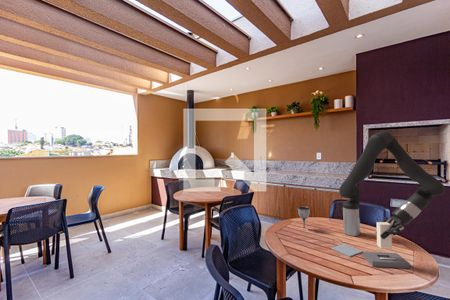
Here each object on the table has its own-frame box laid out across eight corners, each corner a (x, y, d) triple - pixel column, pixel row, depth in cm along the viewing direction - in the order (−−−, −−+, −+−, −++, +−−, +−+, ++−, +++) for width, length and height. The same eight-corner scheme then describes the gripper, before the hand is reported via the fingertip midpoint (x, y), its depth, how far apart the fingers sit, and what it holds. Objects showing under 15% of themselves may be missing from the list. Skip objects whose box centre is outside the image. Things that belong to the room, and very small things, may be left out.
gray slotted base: (396, 257, 112) (396, 251, 112) (409, 268, 103) (409, 261, 103) (362, 256, 115) (362, 250, 115) (372, 266, 105) (372, 259, 105)
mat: (344, 244, 129) (343, 243, 129) (362, 252, 119) (362, 251, 119) (331, 248, 125) (331, 247, 125) (349, 257, 115) (349, 256, 115)
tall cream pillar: (387, 245, 110) (387, 222, 110) (392, 248, 107) (391, 224, 107) (377, 245, 111) (376, 222, 111) (380, 248, 108) (380, 224, 108)
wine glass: (309, 227, 159) (309, 206, 159) (310, 231, 152) (309, 209, 151) (298, 226, 162) (297, 206, 162) (298, 230, 154) (297, 209, 154)
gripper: (391, 203, 115) (366, 225, 117) (409, 211, 101) (381, 236, 103) (402, 213, 114) (378, 235, 116) (423, 222, 100) (394, 248, 102)
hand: (379, 236), depth 109 cm, fingers closed on tall cream pillar, 3 cm apart
